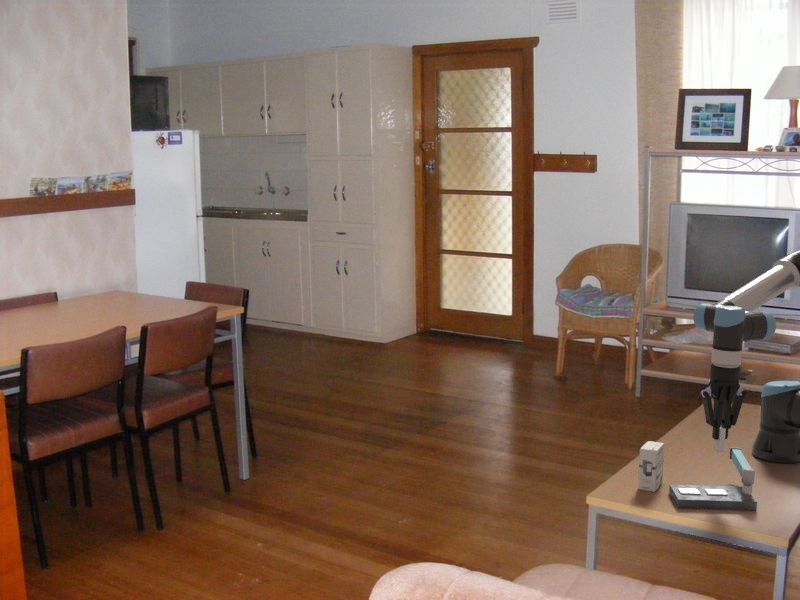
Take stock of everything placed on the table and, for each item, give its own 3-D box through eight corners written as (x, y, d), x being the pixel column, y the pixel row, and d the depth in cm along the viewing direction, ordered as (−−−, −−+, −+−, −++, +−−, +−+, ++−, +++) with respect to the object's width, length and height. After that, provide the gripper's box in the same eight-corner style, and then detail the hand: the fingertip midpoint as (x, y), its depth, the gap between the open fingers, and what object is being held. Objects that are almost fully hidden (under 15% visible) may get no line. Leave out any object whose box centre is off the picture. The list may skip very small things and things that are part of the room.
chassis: (745, 495, 255) (746, 476, 255) (757, 511, 245) (758, 491, 244) (669, 493, 257) (670, 474, 256) (677, 508, 246) (678, 488, 245)
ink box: (645, 479, 267) (647, 439, 266) (663, 482, 265) (665, 442, 263) (637, 489, 260) (639, 448, 258) (655, 492, 258) (657, 450, 256)
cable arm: (755, 484, 247) (756, 471, 247) (742, 484, 248) (743, 471, 247) (740, 458, 268) (741, 446, 268) (728, 458, 269) (729, 446, 268)
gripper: (740, 361, 255) (733, 445, 258) (696, 361, 252) (689, 447, 255) (756, 367, 247) (748, 454, 251) (710, 368, 245) (703, 455, 248)
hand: (718, 450), depth 253 cm, fingers closed
